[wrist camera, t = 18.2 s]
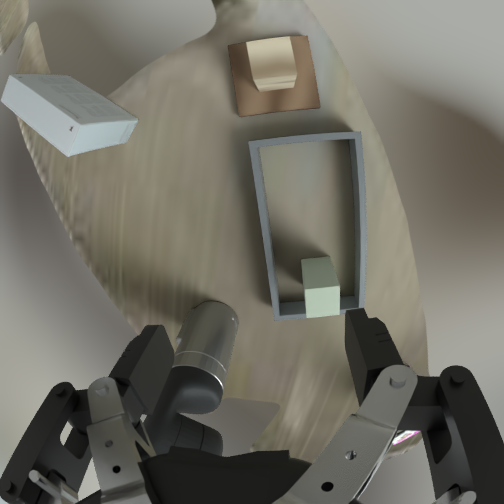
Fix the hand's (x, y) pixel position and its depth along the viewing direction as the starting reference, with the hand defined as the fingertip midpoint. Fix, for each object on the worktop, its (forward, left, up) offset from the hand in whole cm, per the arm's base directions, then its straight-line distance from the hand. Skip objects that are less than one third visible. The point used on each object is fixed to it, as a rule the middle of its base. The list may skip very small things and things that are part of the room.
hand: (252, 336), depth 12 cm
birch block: (+2, +17, -33) cm, 38 cm away
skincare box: (-29, +20, -35) cm, 50 cm away
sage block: (+6, -16, -35) cm, 39 cm away
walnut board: (+3, +17, -35) cm, 39 cm away
